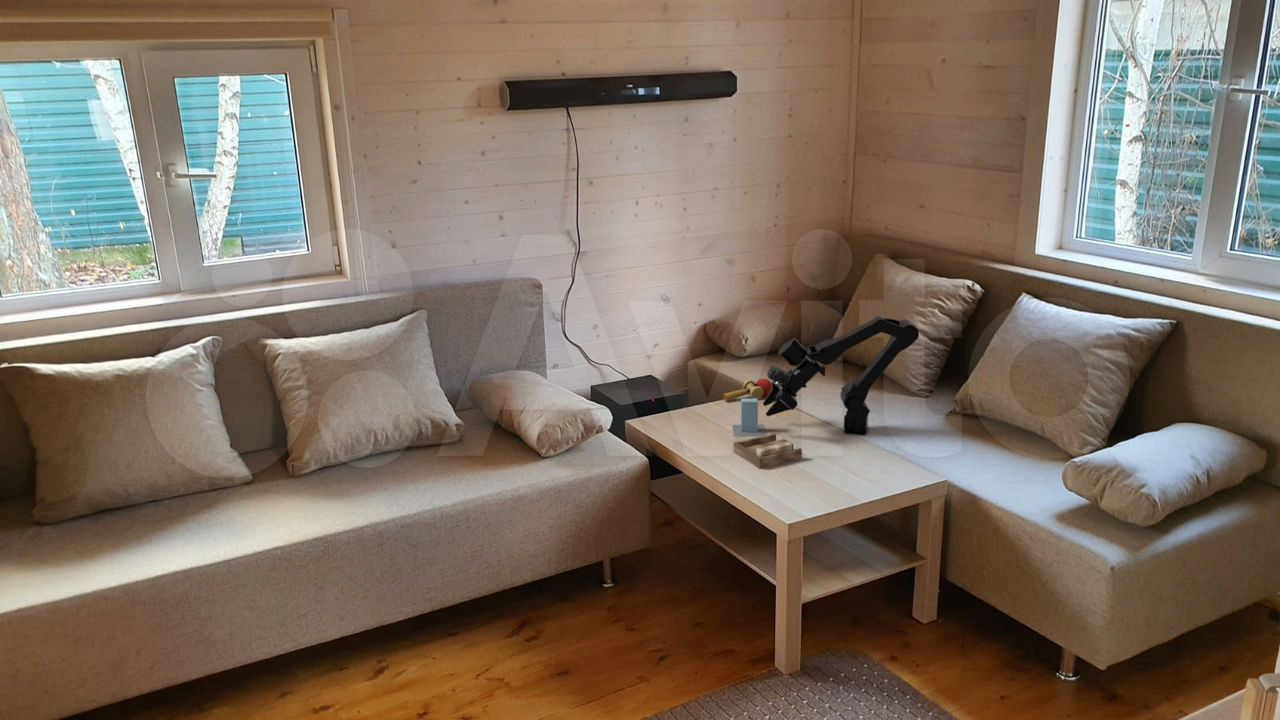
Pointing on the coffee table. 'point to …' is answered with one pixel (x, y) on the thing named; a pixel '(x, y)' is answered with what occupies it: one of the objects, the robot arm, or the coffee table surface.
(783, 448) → the offcut
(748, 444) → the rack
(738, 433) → the mat
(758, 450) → the offcut
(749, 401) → the light blue block
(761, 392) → the kendama
